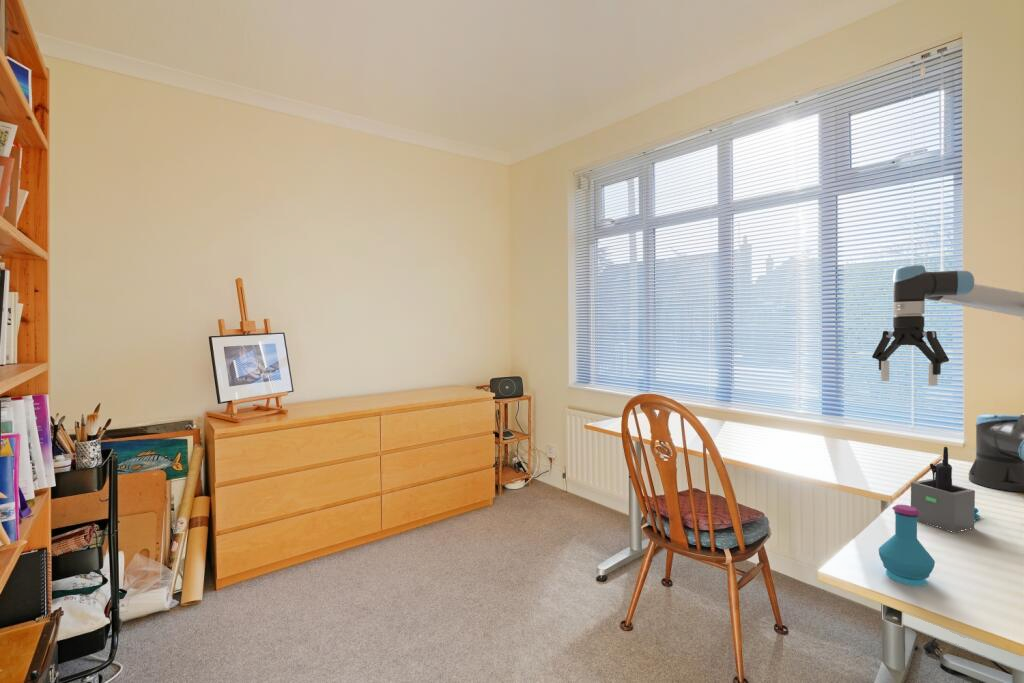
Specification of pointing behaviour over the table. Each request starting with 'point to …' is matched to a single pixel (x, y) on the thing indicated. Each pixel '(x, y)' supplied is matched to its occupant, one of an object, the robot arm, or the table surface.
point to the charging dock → (944, 505)
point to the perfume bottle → (906, 550)
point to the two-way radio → (942, 473)
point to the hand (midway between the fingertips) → (908, 383)
